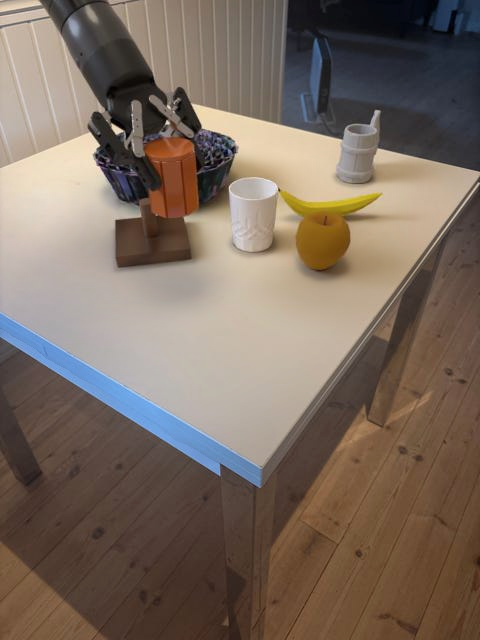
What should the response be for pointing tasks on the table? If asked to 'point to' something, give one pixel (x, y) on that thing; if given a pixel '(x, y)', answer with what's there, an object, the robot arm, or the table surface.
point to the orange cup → (173, 176)
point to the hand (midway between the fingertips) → (179, 178)
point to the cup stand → (150, 238)
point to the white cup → (253, 213)
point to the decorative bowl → (209, 180)
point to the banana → (328, 204)
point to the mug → (359, 151)
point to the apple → (322, 239)
